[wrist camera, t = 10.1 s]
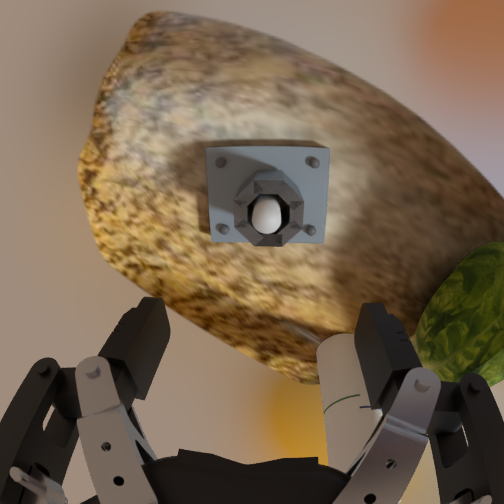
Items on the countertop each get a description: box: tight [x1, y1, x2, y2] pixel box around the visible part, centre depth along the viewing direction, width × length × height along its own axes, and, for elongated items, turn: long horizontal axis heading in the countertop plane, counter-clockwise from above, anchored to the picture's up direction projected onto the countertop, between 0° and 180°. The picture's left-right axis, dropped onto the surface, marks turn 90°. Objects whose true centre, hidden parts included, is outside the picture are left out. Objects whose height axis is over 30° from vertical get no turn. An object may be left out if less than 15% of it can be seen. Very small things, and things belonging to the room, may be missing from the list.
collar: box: [233, 170, 304, 247], centre depth 24 cm, size 6×6×5 cm
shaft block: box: [205, 145, 330, 243], centre depth 25 cm, size 12×10×8 cm
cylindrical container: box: [316, 333, 401, 503], centre depth 27 cm, size 7×7×25 cm
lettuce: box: [412, 241, 504, 387], centre depth 25 cm, size 17×23×17 cm
